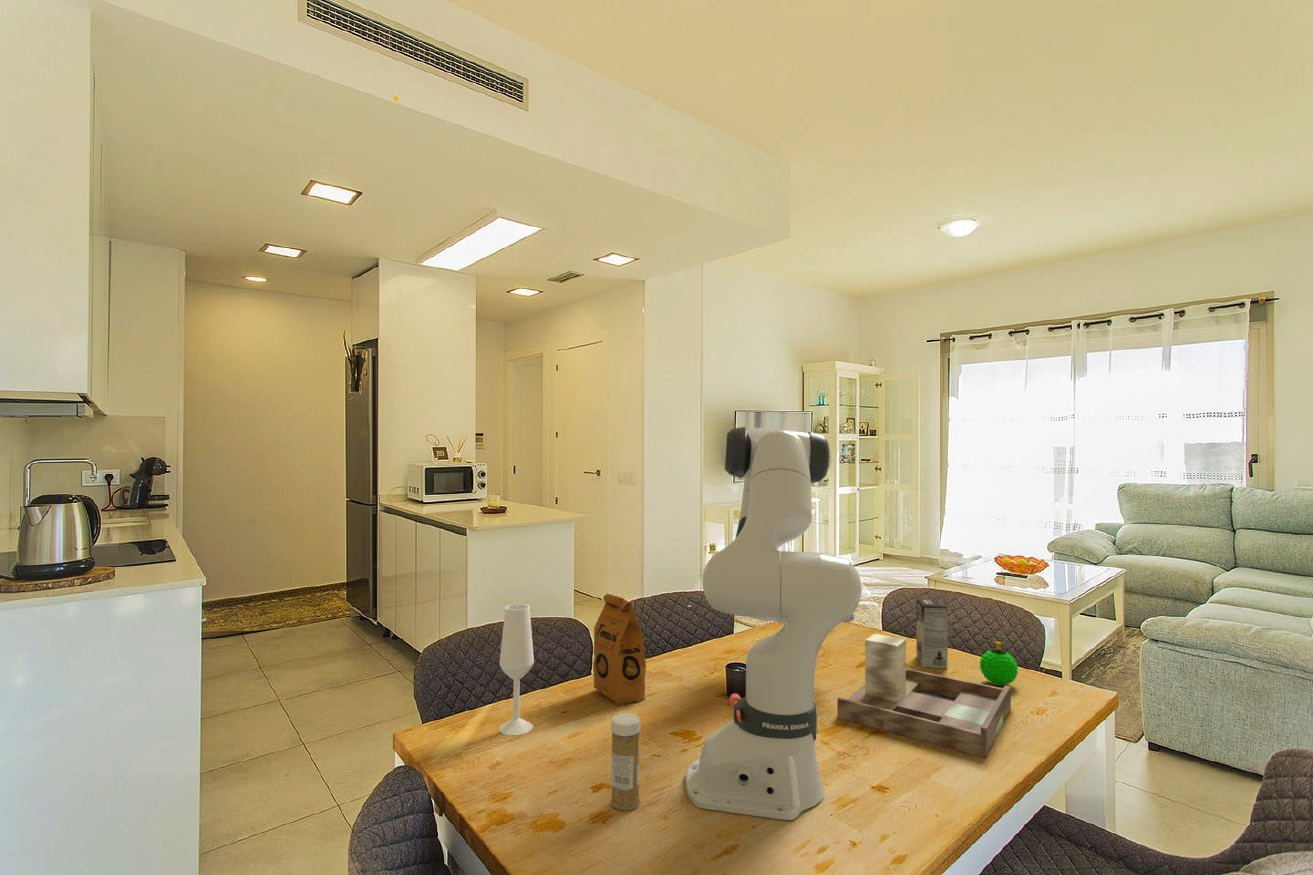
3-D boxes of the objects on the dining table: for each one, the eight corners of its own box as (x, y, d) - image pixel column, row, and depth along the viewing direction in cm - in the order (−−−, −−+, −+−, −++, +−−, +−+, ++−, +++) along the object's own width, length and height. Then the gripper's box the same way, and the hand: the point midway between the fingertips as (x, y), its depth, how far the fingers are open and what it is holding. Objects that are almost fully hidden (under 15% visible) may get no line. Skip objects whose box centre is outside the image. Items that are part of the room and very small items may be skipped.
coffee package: (611, 709, 137) (612, 606, 137) (588, 689, 148) (589, 594, 148) (652, 700, 142) (653, 601, 142) (626, 682, 153) (627, 589, 153)
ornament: (985, 675, 159) (986, 635, 160) (1022, 684, 154) (1022, 642, 154) (974, 684, 154) (974, 642, 154) (1012, 693, 148) (1012, 650, 148)
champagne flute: (538, 730, 127) (539, 608, 127) (504, 738, 123) (506, 612, 123) (526, 718, 132) (527, 601, 133) (494, 725, 129) (495, 605, 129)
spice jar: (645, 801, 102) (645, 716, 102) (628, 815, 98) (629, 726, 98) (621, 792, 104) (622, 709, 104) (604, 806, 100) (605, 719, 100)
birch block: (865, 694, 141) (865, 639, 142) (874, 686, 146) (874, 633, 146) (897, 702, 137) (897, 645, 137) (905, 693, 142) (905, 639, 142)
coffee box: (915, 656, 174) (915, 596, 174) (940, 657, 173) (940, 598, 173) (922, 667, 165) (922, 604, 165) (948, 669, 164) (949, 606, 164)
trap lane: (837, 717, 134) (837, 693, 134) (880, 679, 156) (880, 658, 156) (985, 757, 117) (985, 730, 117) (1010, 708, 139) (1010, 685, 139)
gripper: (776, 603, 147) (834, 613, 139) (812, 587, 163) (866, 595, 155) (776, 631, 147) (834, 643, 139) (812, 612, 163) (866, 621, 155)
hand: (851, 617), depth 147 cm, fingers closed
